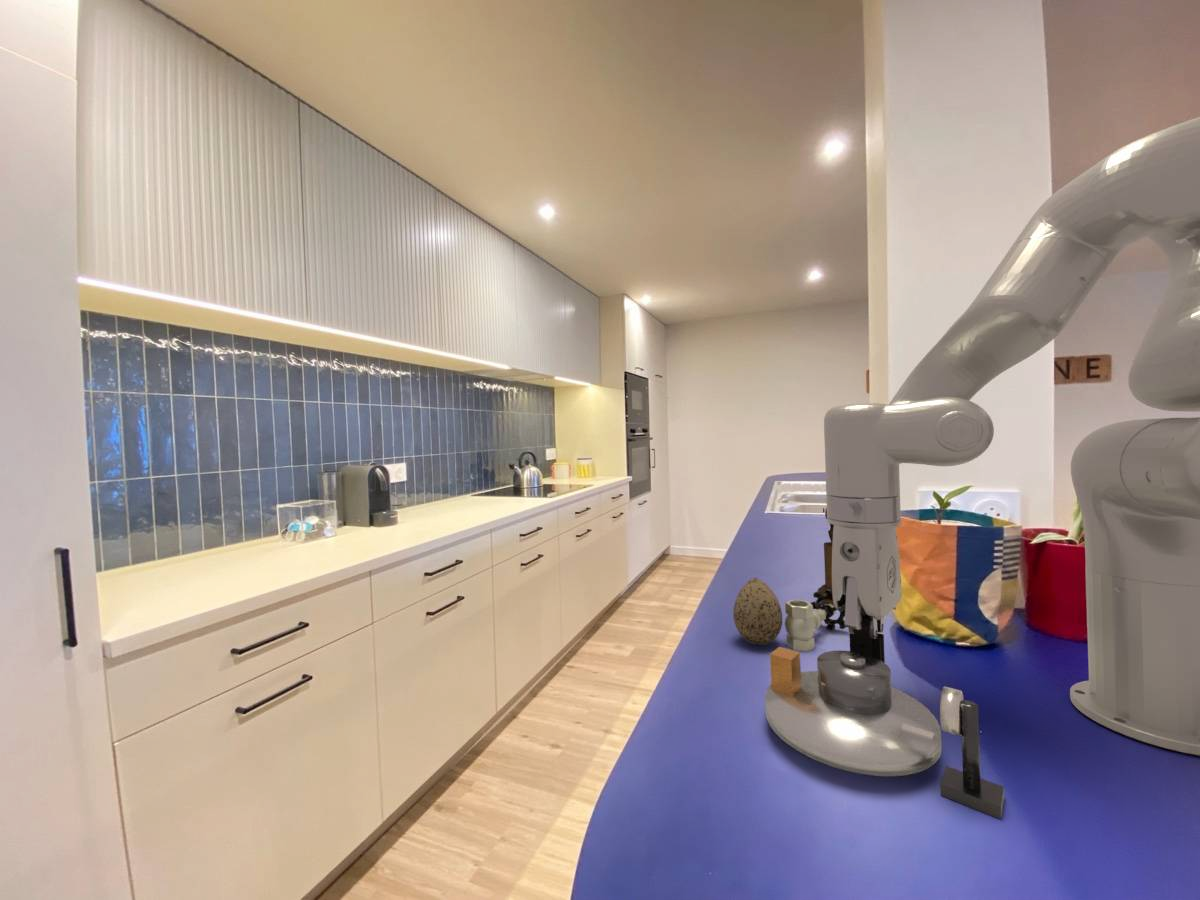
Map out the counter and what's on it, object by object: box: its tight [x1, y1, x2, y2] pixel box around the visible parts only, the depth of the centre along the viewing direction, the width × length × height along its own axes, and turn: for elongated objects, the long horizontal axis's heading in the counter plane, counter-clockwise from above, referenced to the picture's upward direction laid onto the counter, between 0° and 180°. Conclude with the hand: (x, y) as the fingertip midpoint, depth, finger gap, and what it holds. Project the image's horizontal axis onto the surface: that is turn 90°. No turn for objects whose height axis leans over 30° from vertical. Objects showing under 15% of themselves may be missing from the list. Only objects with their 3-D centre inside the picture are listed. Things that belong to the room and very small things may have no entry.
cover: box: [816, 650, 892, 715], centre depth 51 cm, size 7×7×4 cm
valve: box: [784, 589, 847, 653], centre depth 73 cm, size 7×7×12 cm
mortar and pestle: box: [817, 509, 834, 606], centre depth 88 cm, size 7×6×18 cm
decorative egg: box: [732, 577, 783, 646], centre depth 73 cm, size 7×7×10 cm
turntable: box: [764, 646, 942, 777], centre depth 49 cm, size 16×16×6 cm
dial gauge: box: [939, 686, 1005, 820], centre depth 40 cm, size 4×4×9 cm
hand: (867, 666), depth 55 cm, fingers closed
